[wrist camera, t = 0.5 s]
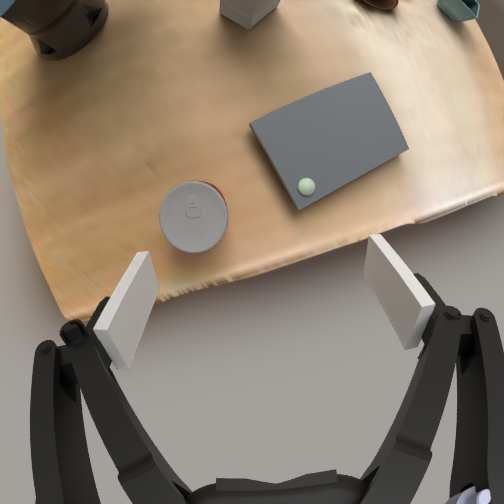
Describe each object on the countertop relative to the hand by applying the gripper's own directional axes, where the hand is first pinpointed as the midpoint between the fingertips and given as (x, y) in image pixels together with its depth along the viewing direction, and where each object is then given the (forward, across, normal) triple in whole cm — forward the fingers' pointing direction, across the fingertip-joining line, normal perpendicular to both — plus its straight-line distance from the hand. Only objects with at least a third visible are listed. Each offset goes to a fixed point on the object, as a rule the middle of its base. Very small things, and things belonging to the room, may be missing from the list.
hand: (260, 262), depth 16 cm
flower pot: (+44, +50, +40) cm, 78 cm away
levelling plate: (+29, +13, +4) cm, 32 cm away
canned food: (+25, -8, -5) cm, 27 cm away
